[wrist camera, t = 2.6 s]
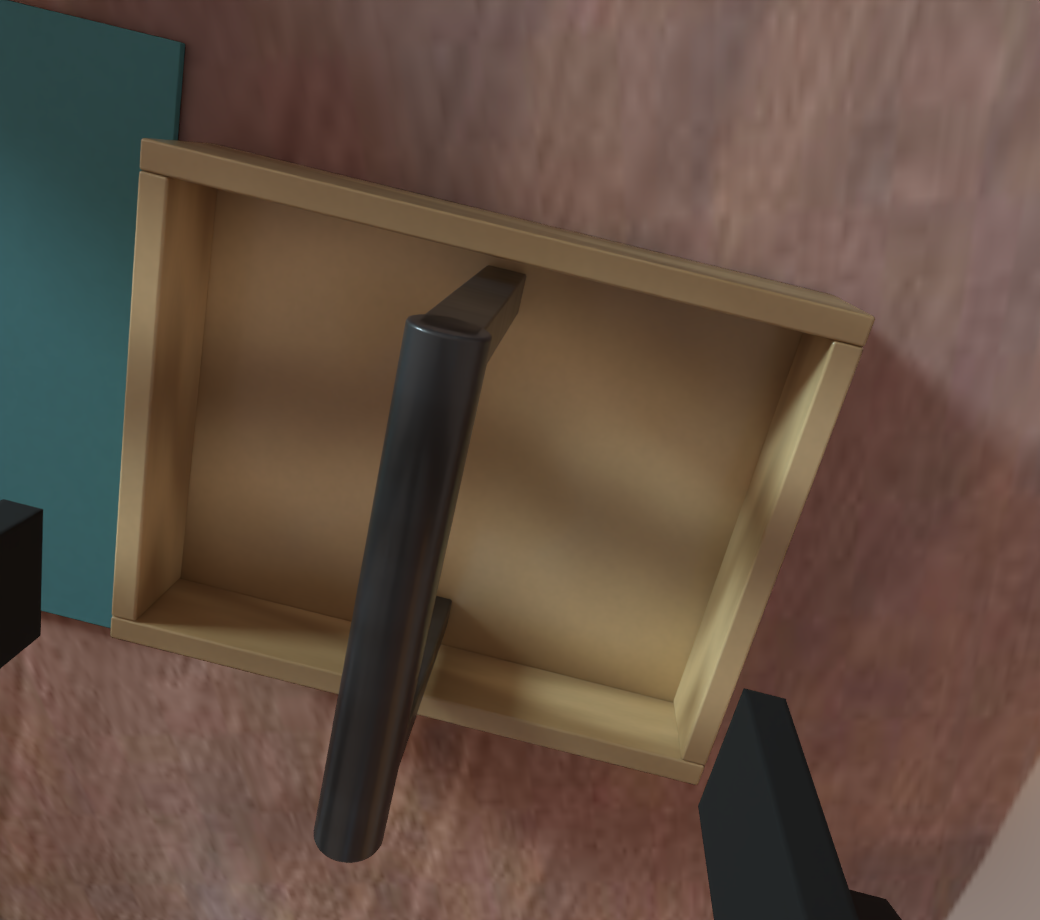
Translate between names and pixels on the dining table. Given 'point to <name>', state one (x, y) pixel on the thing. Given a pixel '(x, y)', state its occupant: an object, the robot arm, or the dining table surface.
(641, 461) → the tray
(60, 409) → the mat
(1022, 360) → the dining table surface
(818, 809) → the robot arm
